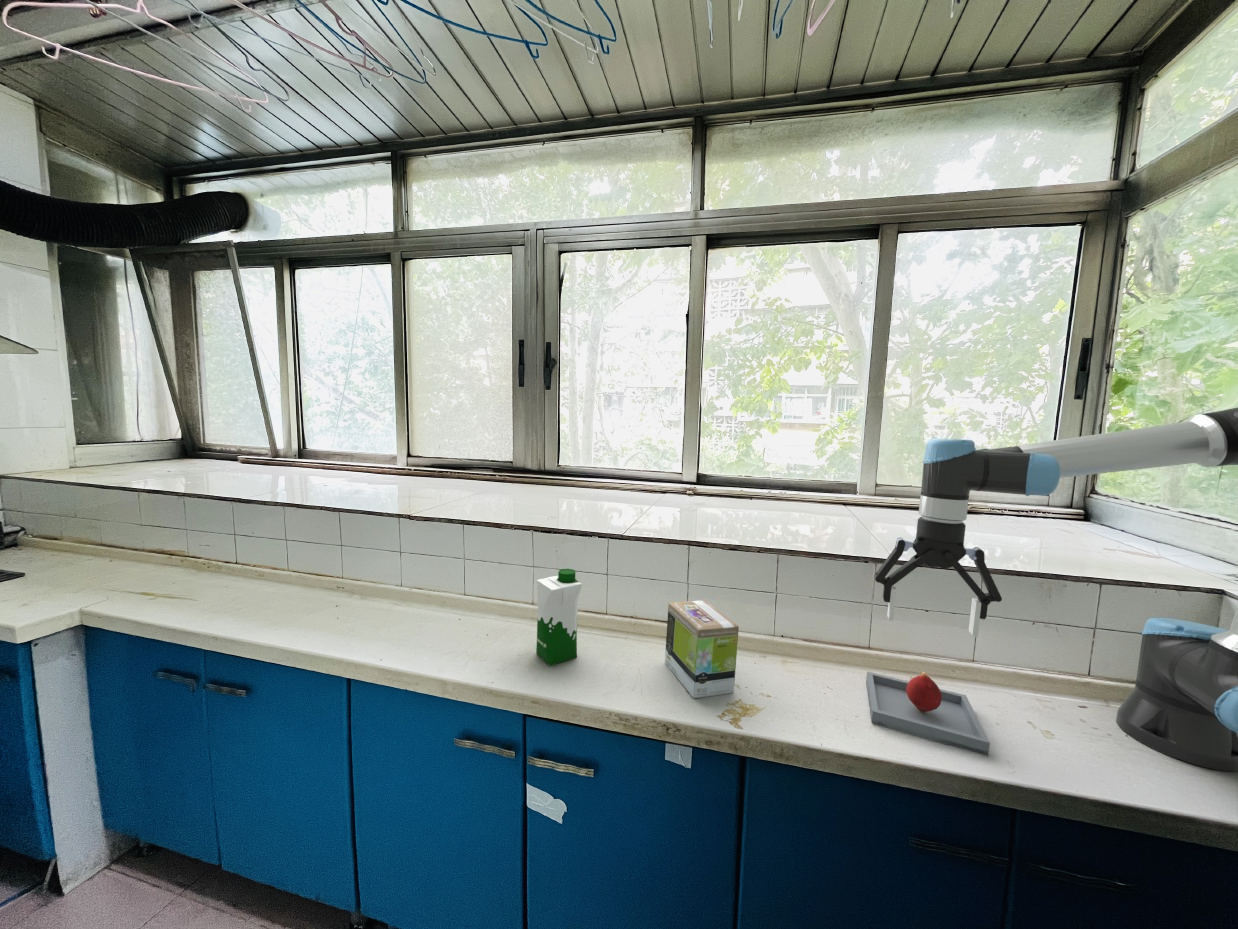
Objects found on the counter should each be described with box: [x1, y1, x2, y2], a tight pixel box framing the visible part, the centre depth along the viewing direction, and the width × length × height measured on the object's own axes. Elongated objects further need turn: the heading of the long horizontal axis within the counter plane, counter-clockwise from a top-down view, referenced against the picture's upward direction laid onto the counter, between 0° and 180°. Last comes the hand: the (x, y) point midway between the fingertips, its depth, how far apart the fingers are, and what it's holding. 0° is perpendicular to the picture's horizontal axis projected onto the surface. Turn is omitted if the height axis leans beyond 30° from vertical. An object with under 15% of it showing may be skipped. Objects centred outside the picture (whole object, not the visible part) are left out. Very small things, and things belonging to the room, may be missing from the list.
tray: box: [865, 671, 991, 757], centre depth 90 cm, size 18×16×2 cm
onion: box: [906, 671, 942, 712], centre depth 90 cm, size 6×6×8 cm
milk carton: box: [535, 568, 583, 667], centre depth 106 cm, size 9×9×20 cm
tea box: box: [664, 599, 740, 699], centre depth 100 cm, size 15×10×15 cm
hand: (930, 625), depth 89 cm, fingers open, 13 cm apart
